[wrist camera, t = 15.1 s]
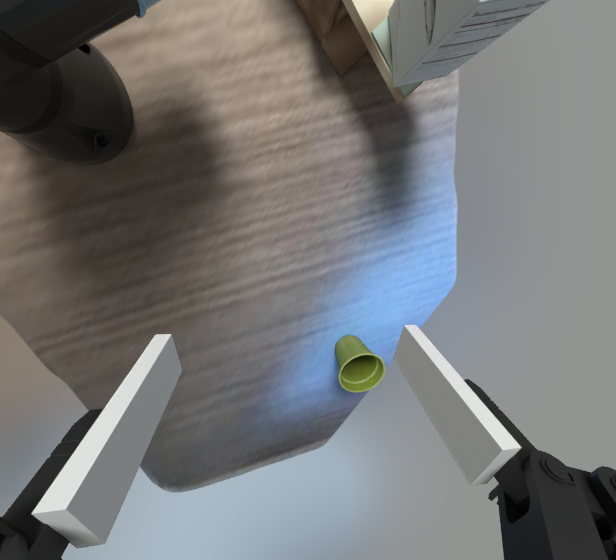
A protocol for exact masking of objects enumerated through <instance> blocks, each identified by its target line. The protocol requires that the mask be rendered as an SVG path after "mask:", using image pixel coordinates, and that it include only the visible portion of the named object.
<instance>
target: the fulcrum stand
mask: <svg viewBox="0 0 616 560" xmlns="http://www.w3.org/2000/svg"><path fill="white" fill-rule="evenodd" d="M296 2H297V3H298V5H299V7H300V9H301V10H302V12H303V14H304V16H305V17H306V19H307V21H308V22H309V24H310V26H311V28H312V29H313V31H314V33H315V35H316V36H317V38H318V40H319V42H320V43H321V45H322V47H323V48H324V50H325V52H326V54H327V55H328V57H329V59H330V61H331V62H332V64H333V66H334V68H335V69H336V71H337V73H338V74H339V76H340V77H341V76H342V75H343V74H344V73H345V72H346V71H347V70H348V69H349V68H350V67H351V66H352V65H353V64H354V63H355V62H356V61H357V60H358V59H359V58H360V57H361V56H362V55H363V54H364V53H365V52H366V51H367V50H368V48H367V47H366V45H365V43H364V41H363V39H362V37H361V35H360V33H359V31H358V30H357V28H356V26H355V24H354V22H353V20H352V18H351V16H350V15H349V13H348V11H347V9H346V7H345V5H344V3H343V1H342V0H296Z"/></svg>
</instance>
